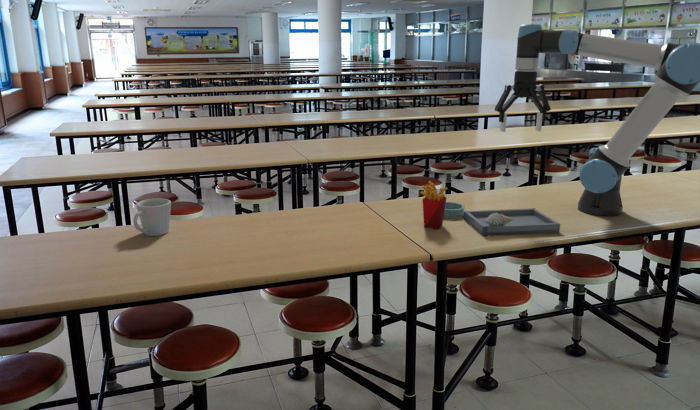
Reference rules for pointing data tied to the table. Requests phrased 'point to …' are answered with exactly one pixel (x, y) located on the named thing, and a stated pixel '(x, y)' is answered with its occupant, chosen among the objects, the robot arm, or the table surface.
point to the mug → (153, 216)
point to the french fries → (433, 206)
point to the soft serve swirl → (497, 219)
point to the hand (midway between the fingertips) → (520, 131)
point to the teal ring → (453, 210)
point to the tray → (512, 222)
